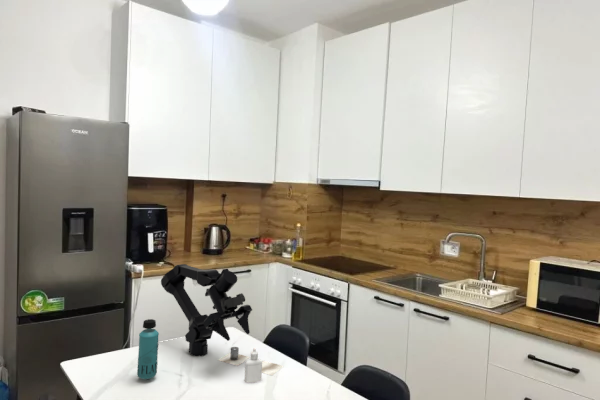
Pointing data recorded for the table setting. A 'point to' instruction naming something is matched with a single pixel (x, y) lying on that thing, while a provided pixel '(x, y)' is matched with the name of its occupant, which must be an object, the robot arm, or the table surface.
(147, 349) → the beverage bottle
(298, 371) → the table surface
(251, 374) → the eye dropper bottle
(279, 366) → the board
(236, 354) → the metal pin
